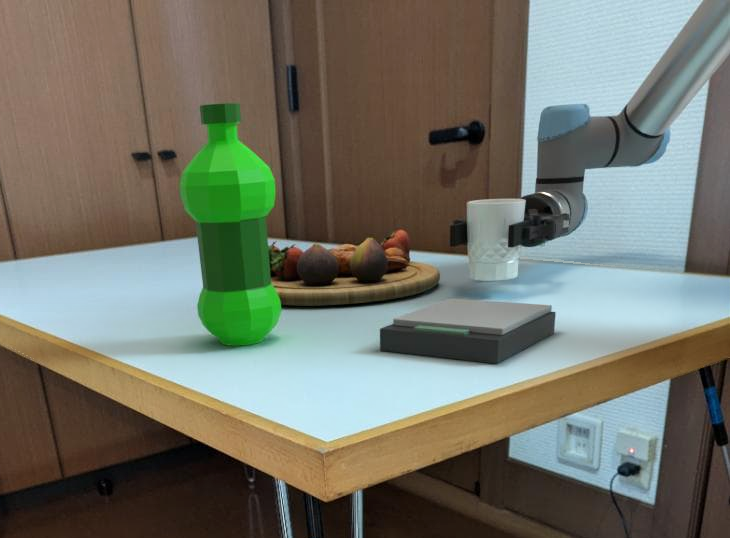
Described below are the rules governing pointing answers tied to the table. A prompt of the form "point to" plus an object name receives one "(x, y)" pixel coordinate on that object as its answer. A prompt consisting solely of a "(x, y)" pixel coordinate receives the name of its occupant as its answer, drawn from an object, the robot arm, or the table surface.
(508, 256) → the white cup
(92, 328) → the table surface
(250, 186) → the plastic bottle
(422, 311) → the kitchen scale
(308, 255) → the wooden plate
